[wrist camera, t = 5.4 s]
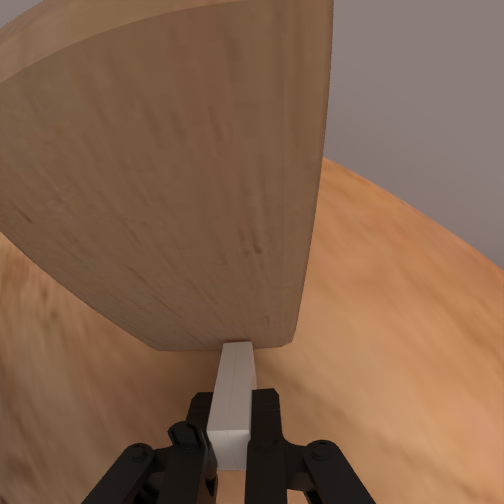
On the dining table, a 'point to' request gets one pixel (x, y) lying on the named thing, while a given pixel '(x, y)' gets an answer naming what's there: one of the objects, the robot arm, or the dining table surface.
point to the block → (168, 159)
